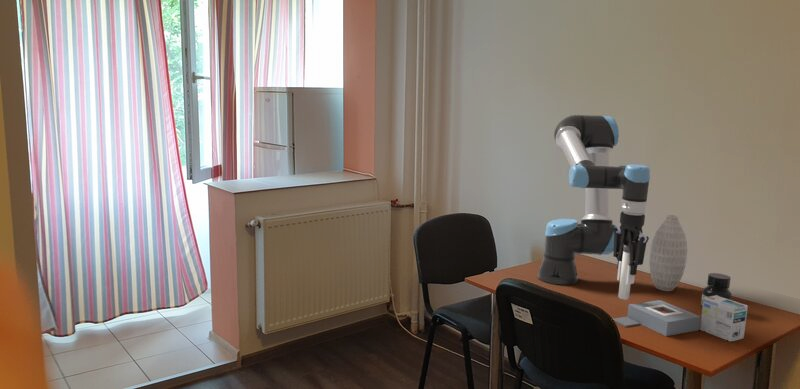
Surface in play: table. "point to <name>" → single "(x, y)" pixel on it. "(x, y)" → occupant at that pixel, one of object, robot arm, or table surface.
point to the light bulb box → (723, 318)
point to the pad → (626, 321)
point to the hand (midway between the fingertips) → (625, 281)
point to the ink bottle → (717, 286)
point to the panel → (664, 317)
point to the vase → (668, 254)
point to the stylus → (624, 274)
